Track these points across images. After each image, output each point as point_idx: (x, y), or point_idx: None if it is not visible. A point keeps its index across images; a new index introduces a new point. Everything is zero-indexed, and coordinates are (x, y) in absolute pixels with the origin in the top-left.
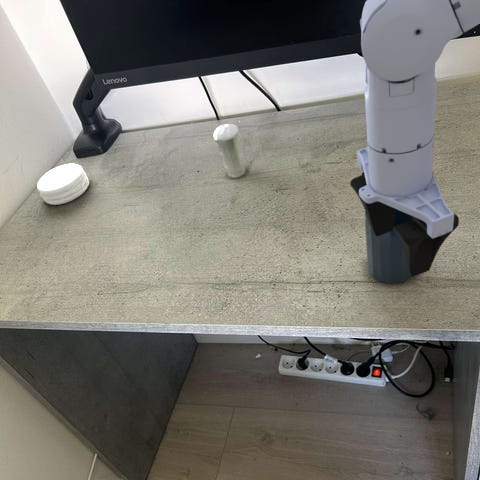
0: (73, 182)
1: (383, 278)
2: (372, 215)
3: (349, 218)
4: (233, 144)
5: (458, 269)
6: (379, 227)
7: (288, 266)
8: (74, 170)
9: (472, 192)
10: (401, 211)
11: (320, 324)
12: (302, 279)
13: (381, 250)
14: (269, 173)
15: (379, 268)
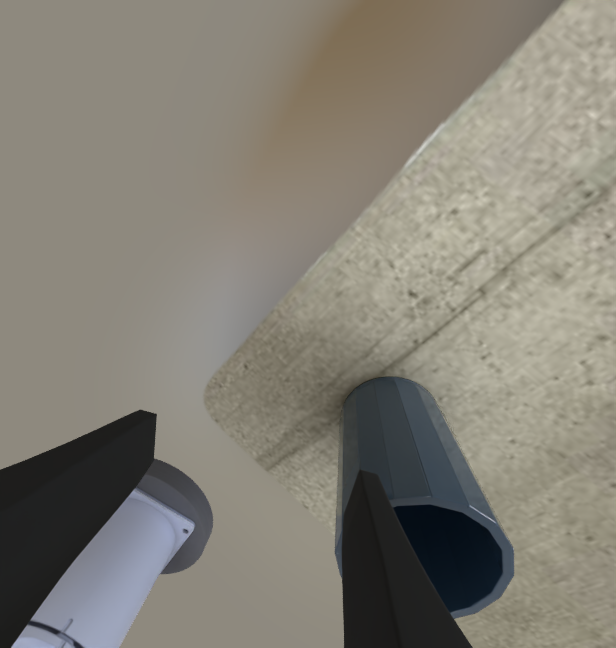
0: None
1: (369, 386)
2: (375, 565)
3: (584, 468)
4: None
5: (301, 476)
6: (357, 510)
7: (604, 267)
8: None
9: None
10: (432, 561)
11: (376, 207)
12: (530, 265)
13: (380, 436)
14: None
15: (380, 398)
